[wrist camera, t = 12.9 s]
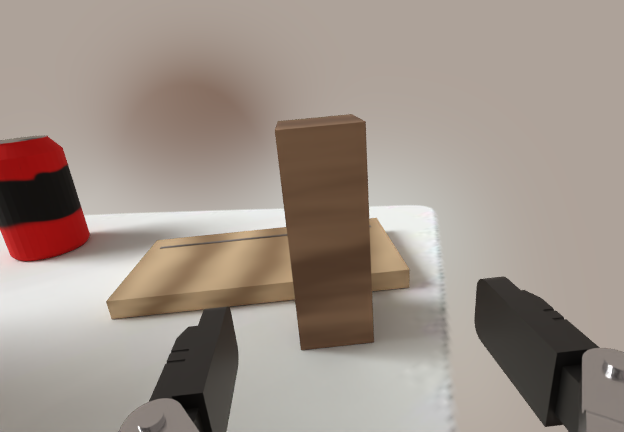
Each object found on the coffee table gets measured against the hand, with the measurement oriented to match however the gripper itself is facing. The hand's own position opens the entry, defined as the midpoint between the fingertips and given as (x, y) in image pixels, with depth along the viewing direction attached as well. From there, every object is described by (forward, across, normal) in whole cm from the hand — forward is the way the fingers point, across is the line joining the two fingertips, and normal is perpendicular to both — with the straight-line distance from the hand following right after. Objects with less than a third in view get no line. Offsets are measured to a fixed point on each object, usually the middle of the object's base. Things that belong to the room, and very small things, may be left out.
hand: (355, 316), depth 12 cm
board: (+19, +5, +8) cm, 21 cm away
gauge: (+16, 0, +8) cm, 18 cm away
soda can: (+30, +30, +8) cm, 43 cm away
